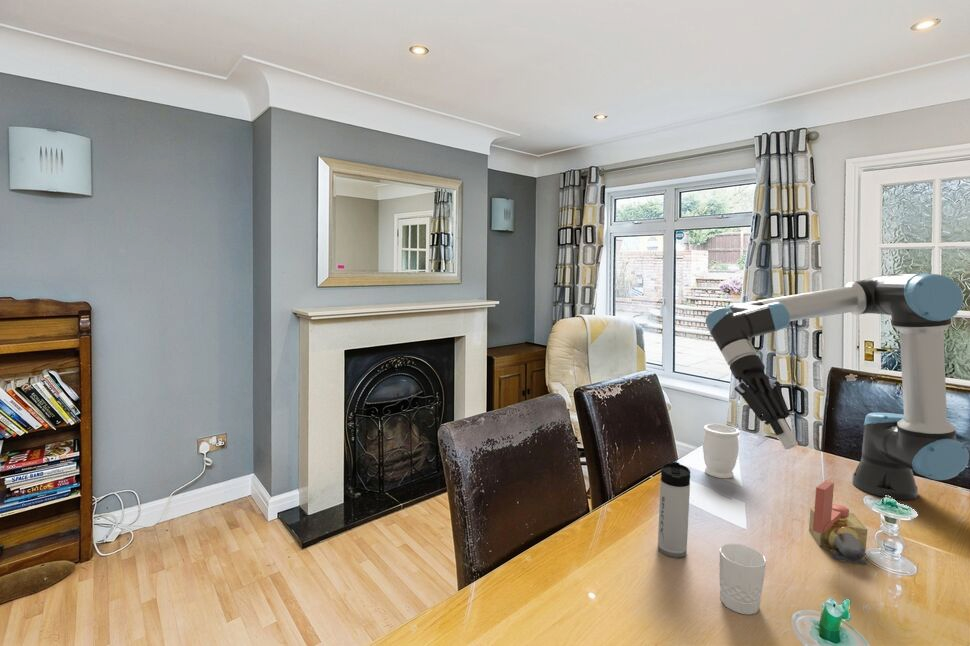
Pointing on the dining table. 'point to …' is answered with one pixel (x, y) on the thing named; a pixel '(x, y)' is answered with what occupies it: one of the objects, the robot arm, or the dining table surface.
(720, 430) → the jar
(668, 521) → the travel mug
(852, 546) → the valve body
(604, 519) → the dining table surface
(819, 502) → the lever
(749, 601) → the white cup
